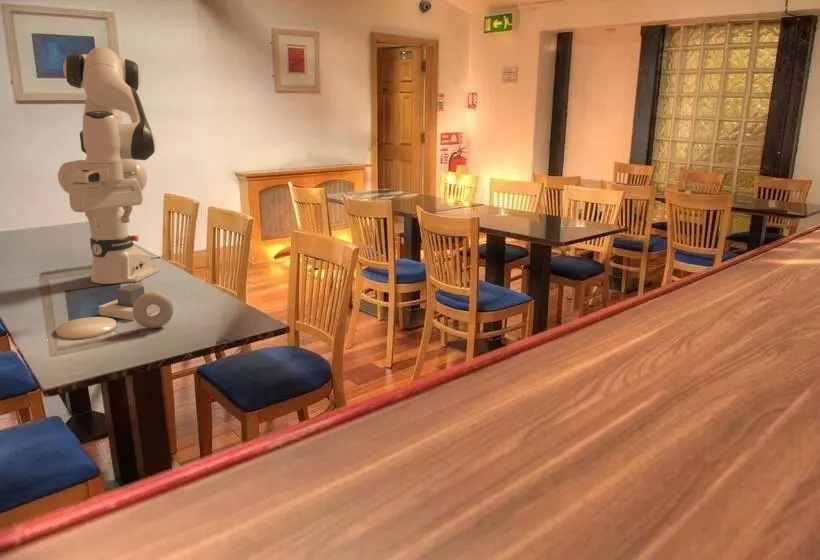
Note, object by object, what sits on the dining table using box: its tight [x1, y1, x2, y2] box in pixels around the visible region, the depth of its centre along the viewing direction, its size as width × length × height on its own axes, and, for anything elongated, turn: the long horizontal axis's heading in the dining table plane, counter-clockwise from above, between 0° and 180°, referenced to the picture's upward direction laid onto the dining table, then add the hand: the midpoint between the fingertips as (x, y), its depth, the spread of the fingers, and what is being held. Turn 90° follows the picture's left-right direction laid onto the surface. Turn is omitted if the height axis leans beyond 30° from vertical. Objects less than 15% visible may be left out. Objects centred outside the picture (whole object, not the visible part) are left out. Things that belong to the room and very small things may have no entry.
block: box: [116, 284, 145, 307], centre depth 179 cm, size 5×5×7 cm
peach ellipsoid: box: [55, 316, 117, 340], centre depth 165 cm, size 14×14×1 cm
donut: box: [132, 291, 174, 329], centre depth 166 cm, size 10×4×10 cm, turn 114°
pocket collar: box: [98, 299, 160, 321], centre depth 180 cm, size 12×12×2 cm
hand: (110, 224), depth 173 cm, fingers open, 8 cm apart
